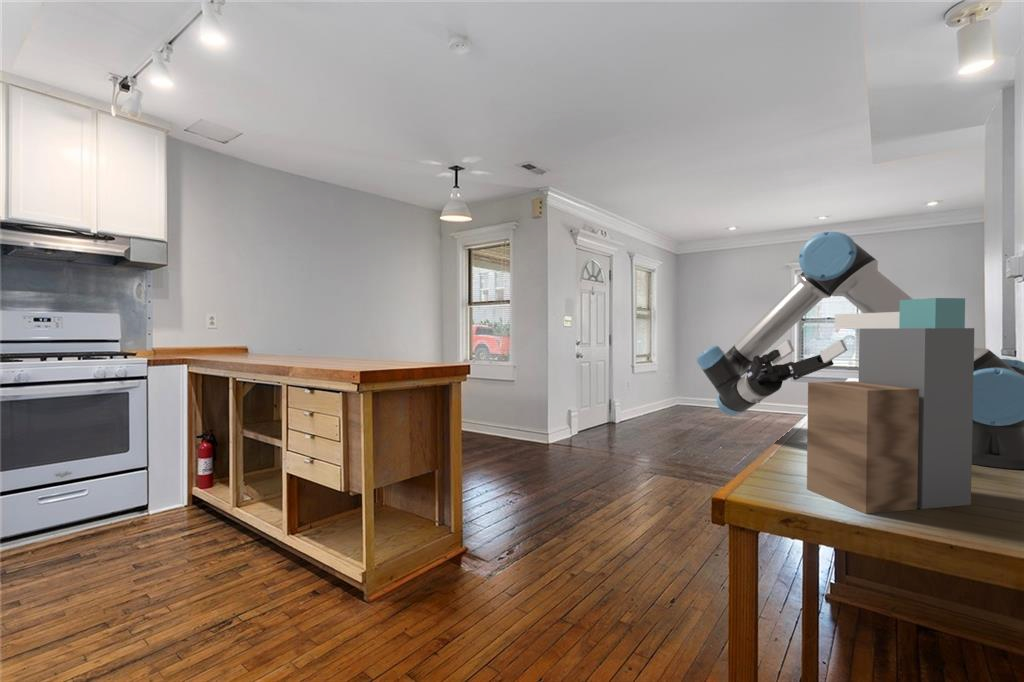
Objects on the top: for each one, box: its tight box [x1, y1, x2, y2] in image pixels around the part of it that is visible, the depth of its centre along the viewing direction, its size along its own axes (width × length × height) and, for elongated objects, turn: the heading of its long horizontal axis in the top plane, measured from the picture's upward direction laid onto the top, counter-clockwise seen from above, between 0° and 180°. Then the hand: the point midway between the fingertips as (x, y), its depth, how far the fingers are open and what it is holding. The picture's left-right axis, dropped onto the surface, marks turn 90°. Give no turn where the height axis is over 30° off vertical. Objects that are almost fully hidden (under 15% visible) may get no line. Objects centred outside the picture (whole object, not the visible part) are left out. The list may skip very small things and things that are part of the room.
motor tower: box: [858, 327, 975, 510], centre depth 84 cm, size 10×12×30 cm
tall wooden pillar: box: [806, 380, 919, 514], centre depth 83 cm, size 10×12×20 cm
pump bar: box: [834, 297, 966, 330], centre depth 88 cm, size 6×21×5 cm, turn 10°
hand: (817, 345), depth 105 cm, fingers open, 13 cm apart
